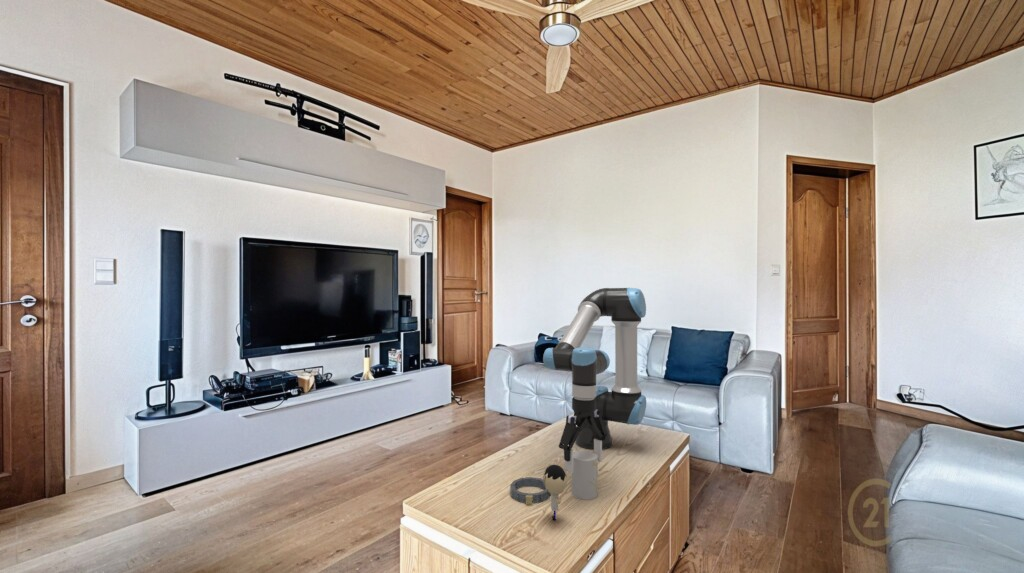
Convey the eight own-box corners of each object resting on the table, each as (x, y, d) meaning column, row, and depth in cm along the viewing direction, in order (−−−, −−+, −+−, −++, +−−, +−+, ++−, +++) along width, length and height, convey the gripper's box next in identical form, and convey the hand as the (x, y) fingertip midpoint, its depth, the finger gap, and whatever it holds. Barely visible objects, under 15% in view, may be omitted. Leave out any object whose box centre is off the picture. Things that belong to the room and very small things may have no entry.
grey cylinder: (597, 501, 132) (597, 461, 132) (570, 498, 134) (570, 459, 134) (597, 488, 140) (597, 451, 140) (572, 486, 142) (572, 449, 142)
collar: (531, 481, 146) (531, 474, 146) (558, 494, 136) (558, 486, 136) (502, 492, 138) (502, 484, 138) (528, 507, 128) (528, 499, 128)
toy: (541, 512, 126) (541, 460, 126) (563, 510, 126) (563, 459, 126) (546, 528, 117) (545, 472, 117) (570, 527, 118) (569, 471, 118)
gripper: (599, 390, 148) (599, 452, 147) (547, 401, 132) (547, 471, 131) (618, 394, 142) (618, 459, 142) (565, 406, 126) (565, 479, 126)
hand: (583, 465), depth 137 cm, fingers open, 13 cm apart
